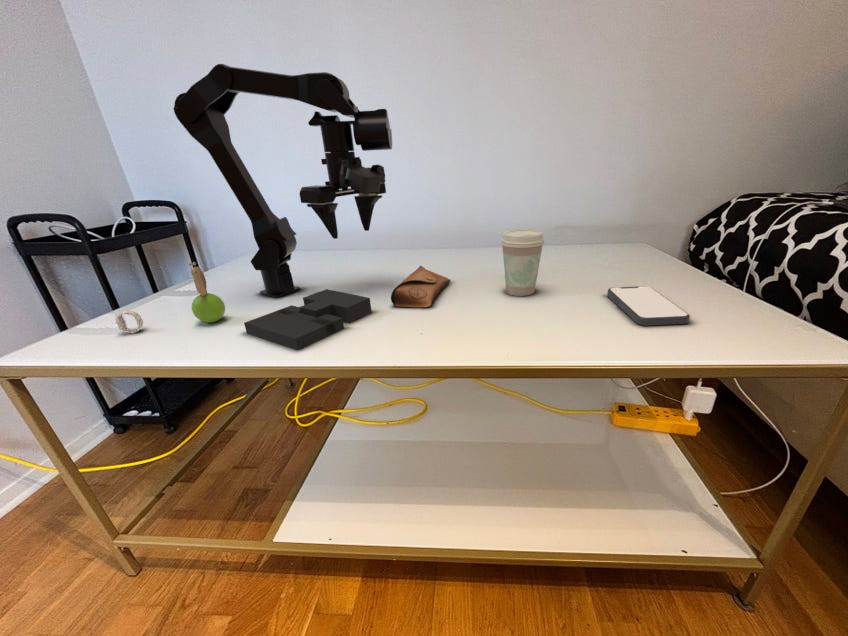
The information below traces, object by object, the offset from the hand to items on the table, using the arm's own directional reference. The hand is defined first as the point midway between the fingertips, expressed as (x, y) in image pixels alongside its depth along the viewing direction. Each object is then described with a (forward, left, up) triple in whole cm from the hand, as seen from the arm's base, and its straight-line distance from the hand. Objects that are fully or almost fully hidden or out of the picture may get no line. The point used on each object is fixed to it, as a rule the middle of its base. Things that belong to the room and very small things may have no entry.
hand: (351, 234), depth 87 cm
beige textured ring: (-20, -38, -12) cm, 45 cm away
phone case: (+57, +15, -12) cm, 60 cm away
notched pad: (+7, -22, -12) cm, 26 cm away
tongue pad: (+7, -15, -12) cm, 20 cm away
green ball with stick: (-11, -28, -12) cm, 32 cm away
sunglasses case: (+15, +4, -12) cm, 20 cm away
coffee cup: (+33, +14, -12) cm, 38 cm away
